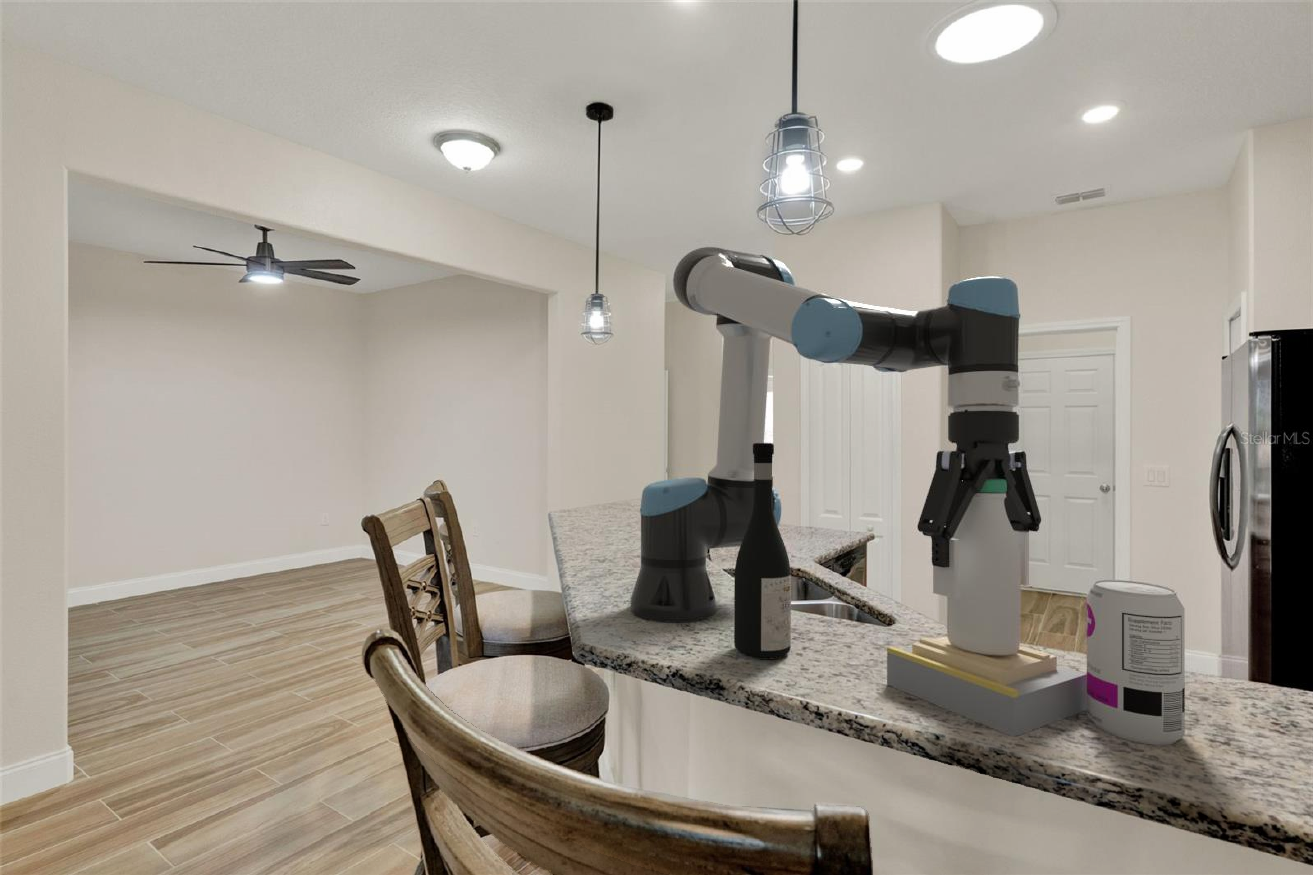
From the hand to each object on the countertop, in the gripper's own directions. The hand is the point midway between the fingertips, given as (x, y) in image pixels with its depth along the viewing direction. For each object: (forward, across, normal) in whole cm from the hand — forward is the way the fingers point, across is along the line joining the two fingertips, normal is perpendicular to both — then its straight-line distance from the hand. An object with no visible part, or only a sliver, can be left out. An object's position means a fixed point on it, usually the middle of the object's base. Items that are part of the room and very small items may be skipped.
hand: (982, 589), depth 75 cm
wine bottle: (+13, -13, +25) cm, 31 cm away
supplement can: (+13, +6, -13) cm, 19 cm away
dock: (+13, 0, 0) cm, 13 cm away
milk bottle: (+7, 0, 0) cm, 7 cm away
